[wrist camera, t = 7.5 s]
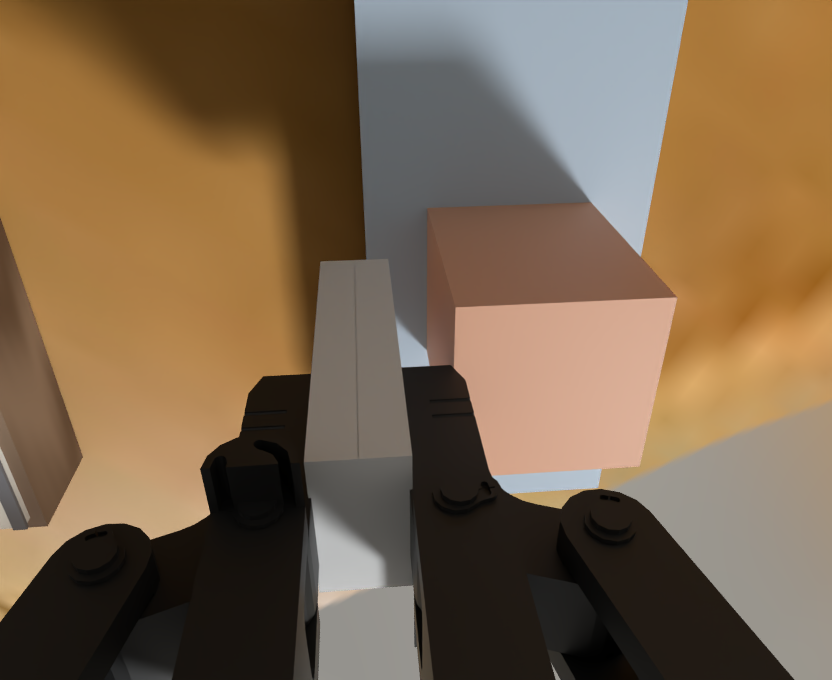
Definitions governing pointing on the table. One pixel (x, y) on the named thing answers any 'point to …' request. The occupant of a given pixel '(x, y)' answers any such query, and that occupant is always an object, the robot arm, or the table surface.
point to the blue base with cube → (524, 214)
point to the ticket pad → (29, 412)
